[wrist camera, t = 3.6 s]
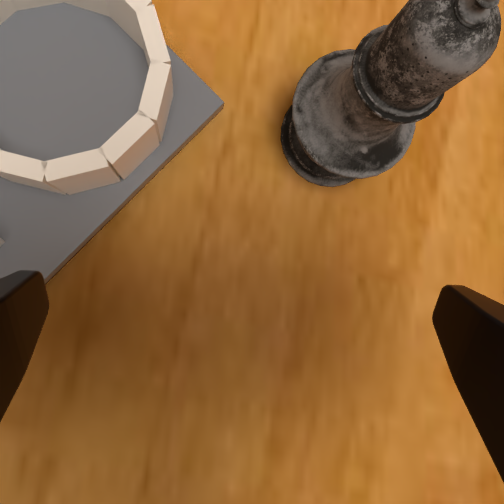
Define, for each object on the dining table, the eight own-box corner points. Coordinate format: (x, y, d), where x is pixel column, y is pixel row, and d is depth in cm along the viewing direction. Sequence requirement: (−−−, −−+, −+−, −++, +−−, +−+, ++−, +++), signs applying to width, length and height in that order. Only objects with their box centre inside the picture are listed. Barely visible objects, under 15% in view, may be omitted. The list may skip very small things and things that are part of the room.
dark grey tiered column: (302, 64, 21) (444, -183, 10) (395, 116, 22) (633, -53, 10) (256, 161, 21) (347, 26, 9) (354, 210, 22) (554, 146, 10)
